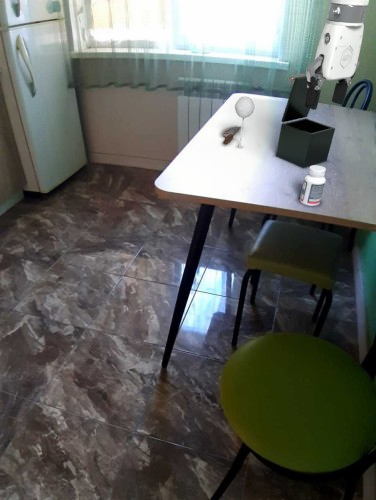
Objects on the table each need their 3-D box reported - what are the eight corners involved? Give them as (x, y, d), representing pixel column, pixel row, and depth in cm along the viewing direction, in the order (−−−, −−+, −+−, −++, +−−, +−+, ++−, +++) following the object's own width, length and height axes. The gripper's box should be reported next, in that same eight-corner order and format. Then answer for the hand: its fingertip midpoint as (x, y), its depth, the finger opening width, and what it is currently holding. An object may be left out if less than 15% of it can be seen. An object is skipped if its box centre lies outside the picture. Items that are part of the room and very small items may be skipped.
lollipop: (233, 151, 134) (239, 99, 123) (228, 144, 138) (233, 94, 127) (251, 150, 135) (258, 99, 124) (245, 144, 139) (252, 94, 129)
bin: (326, 161, 130) (335, 128, 123) (303, 168, 125) (311, 134, 118) (298, 150, 137) (305, 118, 130) (275, 156, 131) (281, 123, 125)
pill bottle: (323, 202, 108) (332, 168, 102) (313, 208, 106) (322, 174, 100) (306, 195, 111) (314, 162, 105) (295, 201, 108) (303, 167, 102)
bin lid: (322, 74, 120) (309, 66, 122) (297, 78, 115) (284, 70, 117) (307, 117, 129) (295, 109, 132) (282, 122, 124) (270, 114, 127)
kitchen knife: (228, 124, 152) (242, 124, 151) (228, 129, 153) (242, 129, 152) (213, 139, 137) (228, 139, 135) (213, 144, 138) (228, 145, 136)
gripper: (333, 18, 80) (311, 114, 92) (385, 16, 88) (359, 105, 100) (305, 13, 84) (287, 106, 96) (357, 12, 92) (335, 97, 104)
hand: (324, 105), depth 98 cm, fingers open, 9 cm apart
